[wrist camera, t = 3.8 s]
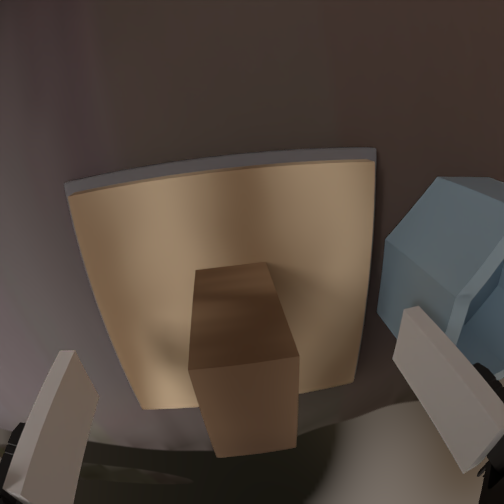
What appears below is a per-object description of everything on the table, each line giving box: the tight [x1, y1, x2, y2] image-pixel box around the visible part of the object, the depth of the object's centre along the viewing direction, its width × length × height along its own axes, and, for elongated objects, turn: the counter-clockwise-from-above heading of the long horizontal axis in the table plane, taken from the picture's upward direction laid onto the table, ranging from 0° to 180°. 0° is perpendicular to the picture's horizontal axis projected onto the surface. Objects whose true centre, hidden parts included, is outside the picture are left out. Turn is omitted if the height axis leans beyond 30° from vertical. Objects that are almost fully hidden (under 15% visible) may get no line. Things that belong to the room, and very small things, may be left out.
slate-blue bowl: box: [377, 176, 504, 380], centre depth 14 cm, size 11×11×6 cm
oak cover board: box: [68, 159, 375, 458], centre depth 12 cm, size 13×13×7 cm
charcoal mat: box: [64, 147, 376, 405], centre depth 15 cm, size 14×14×1 cm
